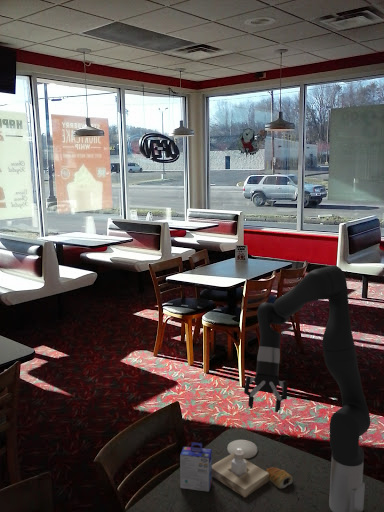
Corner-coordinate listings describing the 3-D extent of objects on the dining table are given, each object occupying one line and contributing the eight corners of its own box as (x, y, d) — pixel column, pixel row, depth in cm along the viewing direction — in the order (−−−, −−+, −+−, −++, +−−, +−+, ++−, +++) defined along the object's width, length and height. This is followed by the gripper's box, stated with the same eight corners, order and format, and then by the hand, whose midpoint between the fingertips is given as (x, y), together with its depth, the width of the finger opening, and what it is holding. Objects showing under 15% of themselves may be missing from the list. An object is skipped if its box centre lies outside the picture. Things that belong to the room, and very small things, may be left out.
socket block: (268, 481, 165) (268, 473, 164) (244, 497, 157) (244, 489, 156) (233, 460, 177) (233, 452, 176) (209, 474, 169) (209, 466, 168)
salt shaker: (238, 483, 164) (238, 457, 162) (230, 477, 167) (230, 451, 165) (247, 478, 166) (247, 453, 165) (239, 472, 170) (239, 447, 168)
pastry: (260, 476, 168) (261, 466, 167) (275, 469, 172) (275, 459, 171) (280, 491, 160) (280, 480, 160) (295, 483, 164) (295, 473, 163)
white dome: (263, 450, 182) (263, 448, 182) (243, 462, 175) (243, 460, 175) (241, 438, 190) (241, 436, 190) (221, 449, 183) (221, 447, 183)
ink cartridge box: (212, 481, 165) (212, 442, 162) (209, 492, 160) (209, 452, 157) (183, 478, 167) (183, 439, 164) (179, 488, 162) (179, 448, 159)
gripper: (249, 358, 166) (244, 408, 162) (291, 363, 166) (287, 413, 162) (246, 358, 173) (241, 406, 169) (286, 364, 173) (282, 412, 169)
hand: (263, 410), depth 166 cm, fingers open, 8 cm apart
